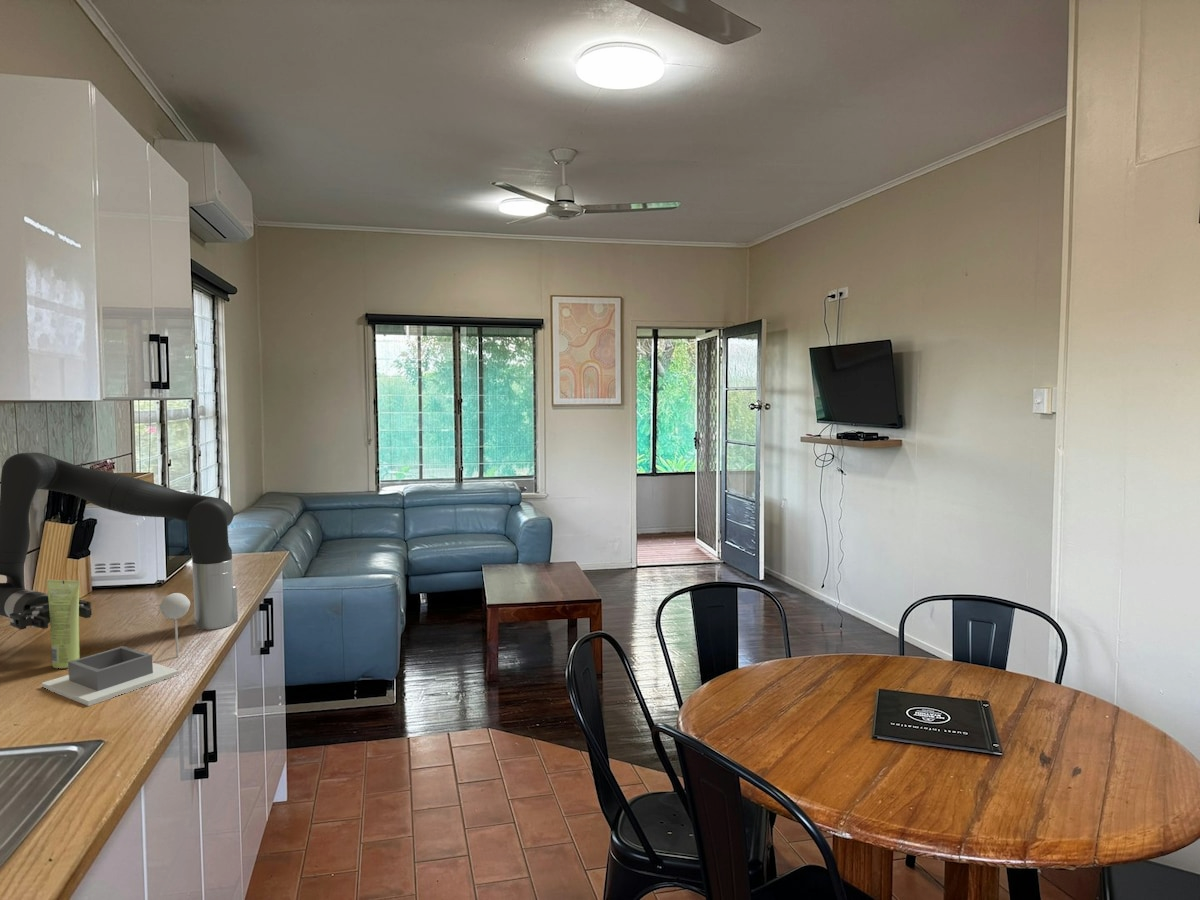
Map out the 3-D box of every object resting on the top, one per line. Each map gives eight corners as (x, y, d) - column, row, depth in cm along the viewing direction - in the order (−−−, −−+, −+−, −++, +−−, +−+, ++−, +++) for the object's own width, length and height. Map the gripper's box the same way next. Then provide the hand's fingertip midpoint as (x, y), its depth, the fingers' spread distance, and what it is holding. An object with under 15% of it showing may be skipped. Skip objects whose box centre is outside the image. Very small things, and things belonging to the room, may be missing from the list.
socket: (131, 659, 169) (130, 638, 169) (178, 675, 161) (177, 652, 160) (41, 687, 154) (40, 664, 153) (88, 706, 145) (87, 681, 144)
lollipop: (161, 663, 167) (158, 598, 166) (162, 654, 173) (159, 591, 171) (192, 658, 170) (189, 595, 169) (192, 650, 175) (190, 588, 174)
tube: (82, 658, 170) (77, 575, 168) (84, 665, 166) (79, 580, 164) (51, 664, 166) (46, 579, 164) (52, 671, 162) (47, 584, 160)
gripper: (-7, 599, 165) (30, 610, 157) (64, 584, 178) (101, 594, 170) (-5, 632, 166) (32, 644, 158) (66, 615, 178) (103, 626, 171)
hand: (68, 618), depth 164 cm, fingers open, 8 cm apart
